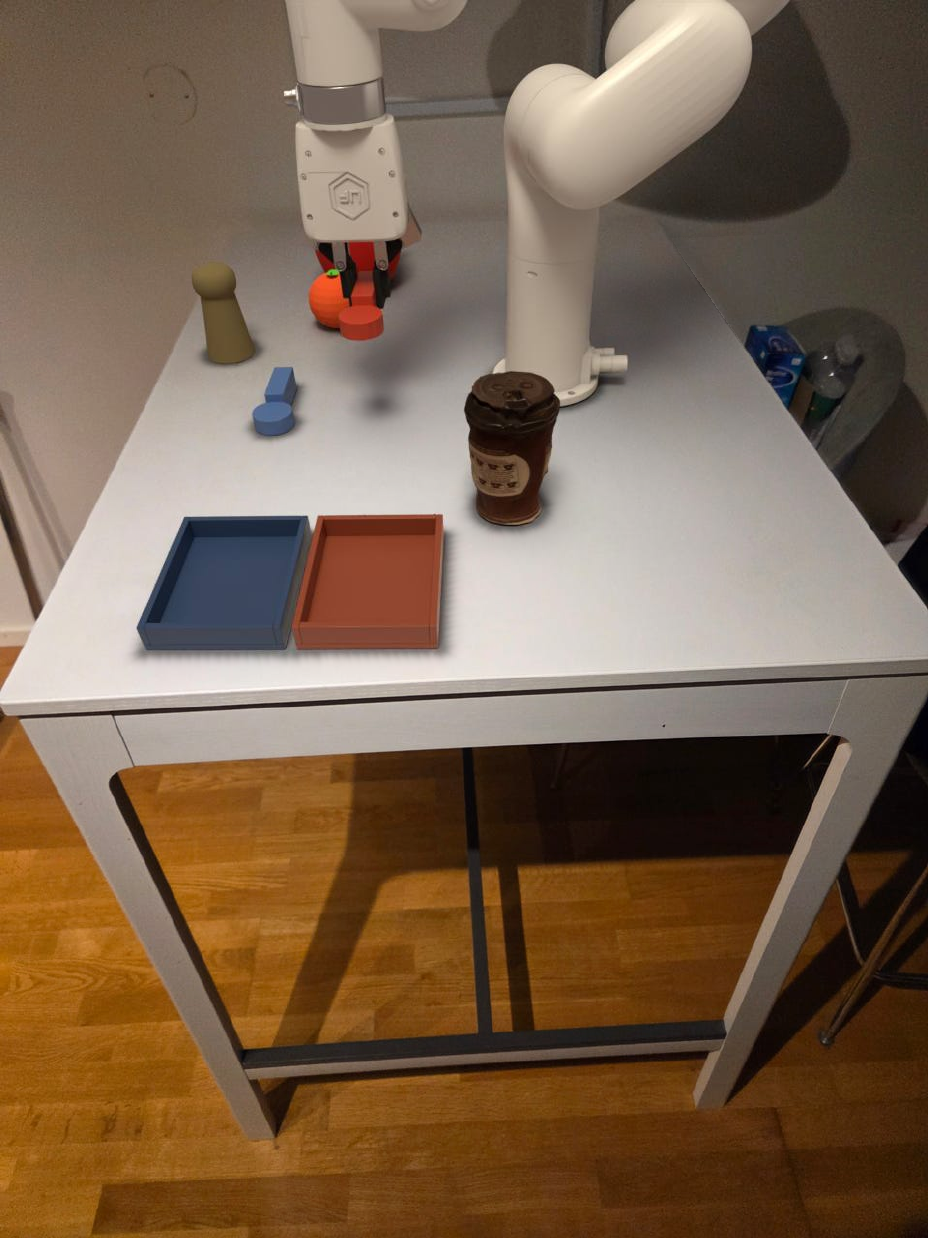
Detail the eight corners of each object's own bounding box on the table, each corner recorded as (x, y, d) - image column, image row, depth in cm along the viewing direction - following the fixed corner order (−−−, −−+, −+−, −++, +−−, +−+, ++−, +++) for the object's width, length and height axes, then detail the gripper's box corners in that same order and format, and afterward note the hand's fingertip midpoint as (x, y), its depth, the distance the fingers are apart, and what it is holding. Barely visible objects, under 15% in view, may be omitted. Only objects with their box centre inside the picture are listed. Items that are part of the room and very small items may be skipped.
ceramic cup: (438, 270, 121) (435, 199, 114) (371, 312, 111) (363, 237, 104) (370, 255, 126) (363, 186, 119) (300, 293, 116) (288, 220, 109)
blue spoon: (269, 388, 96) (265, 366, 94) (305, 388, 96) (302, 366, 94) (251, 435, 89) (246, 413, 87) (291, 435, 88) (286, 413, 87)
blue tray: (312, 537, 76) (308, 515, 74) (285, 649, 65) (279, 627, 63) (191, 538, 76) (184, 516, 74) (145, 650, 65) (135, 627, 64)
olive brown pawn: (244, 365, 101) (223, 276, 93) (199, 361, 101) (175, 274, 94) (262, 343, 105) (243, 257, 97) (219, 340, 106) (198, 254, 98)
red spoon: (352, 296, 87) (348, 270, 85) (392, 296, 87) (389, 270, 85) (337, 341, 80) (333, 314, 78) (381, 340, 79) (378, 313, 77)
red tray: (443, 535, 75) (442, 513, 73) (438, 648, 65) (436, 626, 63) (321, 537, 76) (317, 515, 74) (296, 649, 65) (291, 627, 63)
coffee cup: (523, 546, 74) (529, 422, 65) (448, 518, 77) (443, 397, 68) (566, 498, 79) (576, 377, 70) (494, 474, 82) (495, 355, 73)
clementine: (318, 311, 111) (310, 259, 106) (367, 310, 111) (362, 258, 106) (308, 337, 106) (300, 283, 101) (360, 336, 105) (354, 282, 100)
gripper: (246, 115, 69) (287, 321, 82) (429, 109, 69) (441, 317, 82) (264, 95, 75) (300, 291, 88) (434, 88, 74) (445, 287, 87)
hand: (368, 302), depth 84 cm, fingers closed on red spoon, 2 cm apart
